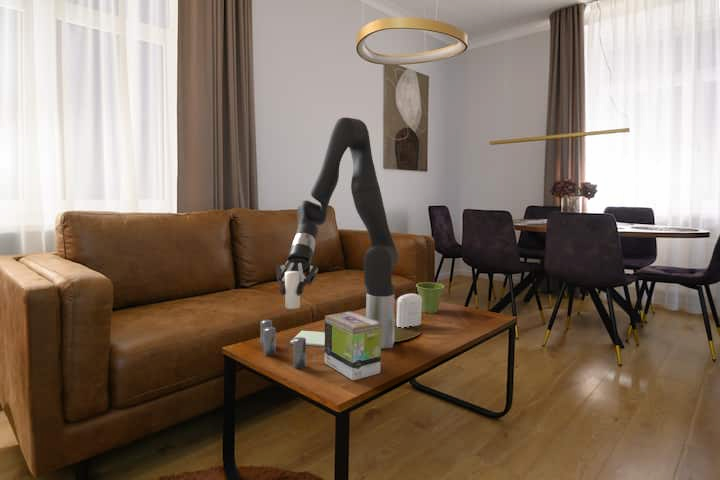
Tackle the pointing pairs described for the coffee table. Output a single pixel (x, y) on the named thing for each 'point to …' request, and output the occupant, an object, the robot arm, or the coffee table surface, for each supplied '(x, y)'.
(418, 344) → the coffee table surface
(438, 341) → the coffee table surface
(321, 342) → the mat
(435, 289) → the plant pot
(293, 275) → the cylinder
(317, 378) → the coffee table surface
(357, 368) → the tea box
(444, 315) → the coffee table surface
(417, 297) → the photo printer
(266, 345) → the posts
